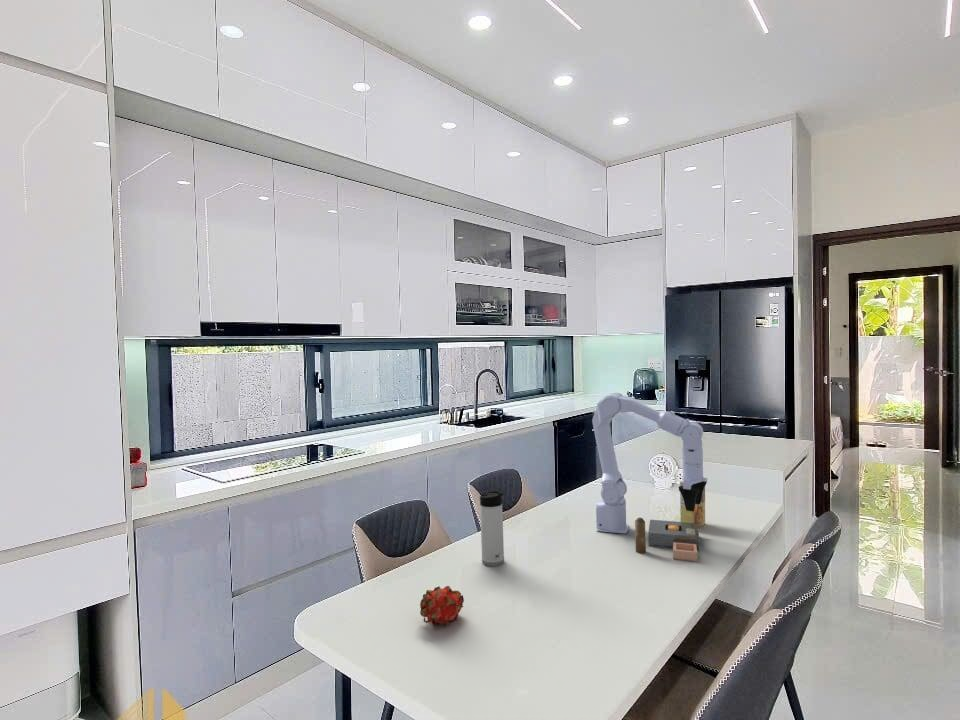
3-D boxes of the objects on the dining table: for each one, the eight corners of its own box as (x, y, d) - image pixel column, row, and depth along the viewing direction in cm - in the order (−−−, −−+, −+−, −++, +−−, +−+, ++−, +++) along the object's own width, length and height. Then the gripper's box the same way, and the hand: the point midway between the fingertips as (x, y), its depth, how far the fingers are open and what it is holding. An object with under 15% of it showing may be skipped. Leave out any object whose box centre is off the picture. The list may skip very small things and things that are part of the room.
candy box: (694, 521, 178) (693, 475, 178) (706, 524, 175) (705, 478, 175) (680, 527, 173) (679, 480, 172) (692, 531, 169) (691, 483, 169)
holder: (673, 559, 149) (673, 550, 149) (673, 550, 154) (673, 542, 154) (697, 561, 147) (697, 552, 146) (696, 552, 152) (696, 544, 152)
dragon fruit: (415, 637, 117) (459, 625, 124) (435, 626, 112) (479, 614, 119) (406, 597, 121) (449, 588, 129) (425, 584, 116) (468, 576, 124)
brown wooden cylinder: (635, 553, 154) (634, 518, 153) (636, 549, 156) (635, 515, 156) (645, 554, 153) (644, 519, 153) (646, 550, 155) (645, 516, 155)
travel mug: (503, 567, 147) (501, 495, 147) (480, 566, 149) (477, 495, 148) (506, 558, 154) (504, 489, 153) (484, 557, 155) (481, 488, 154)
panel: (648, 545, 159) (648, 531, 158) (650, 531, 170) (650, 518, 170) (699, 550, 154) (699, 536, 154) (697, 535, 165) (697, 522, 165)
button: (667, 532, 161) (667, 528, 161) (668, 529, 164) (667, 524, 164) (679, 533, 160) (679, 529, 160) (679, 530, 163) (679, 525, 163)
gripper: (700, 469, 153) (701, 516, 154) (712, 459, 165) (712, 502, 165) (675, 466, 157) (676, 512, 158) (688, 457, 169) (689, 499, 169)
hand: (693, 507), depth 162 cm, fingers open, 7 cm apart
